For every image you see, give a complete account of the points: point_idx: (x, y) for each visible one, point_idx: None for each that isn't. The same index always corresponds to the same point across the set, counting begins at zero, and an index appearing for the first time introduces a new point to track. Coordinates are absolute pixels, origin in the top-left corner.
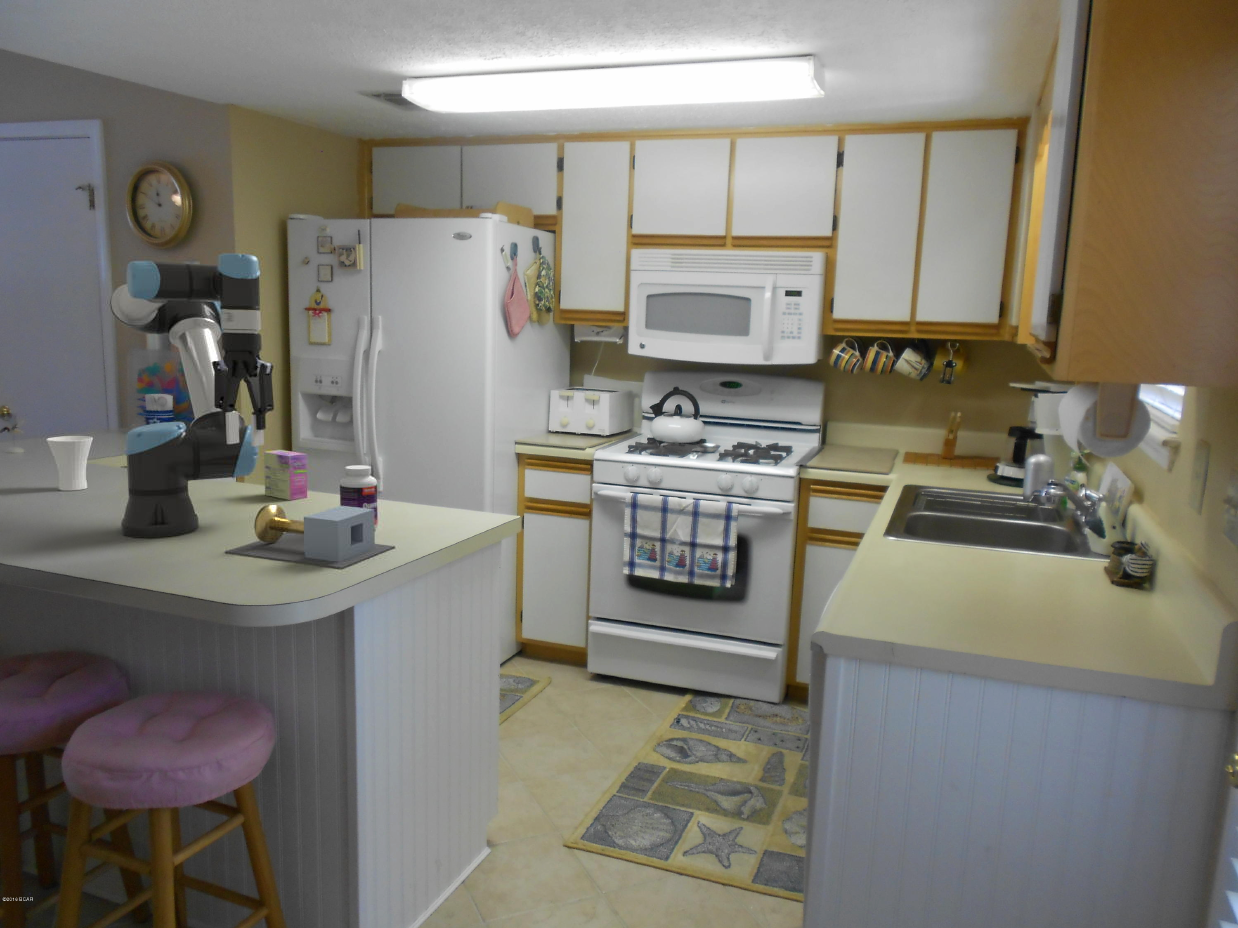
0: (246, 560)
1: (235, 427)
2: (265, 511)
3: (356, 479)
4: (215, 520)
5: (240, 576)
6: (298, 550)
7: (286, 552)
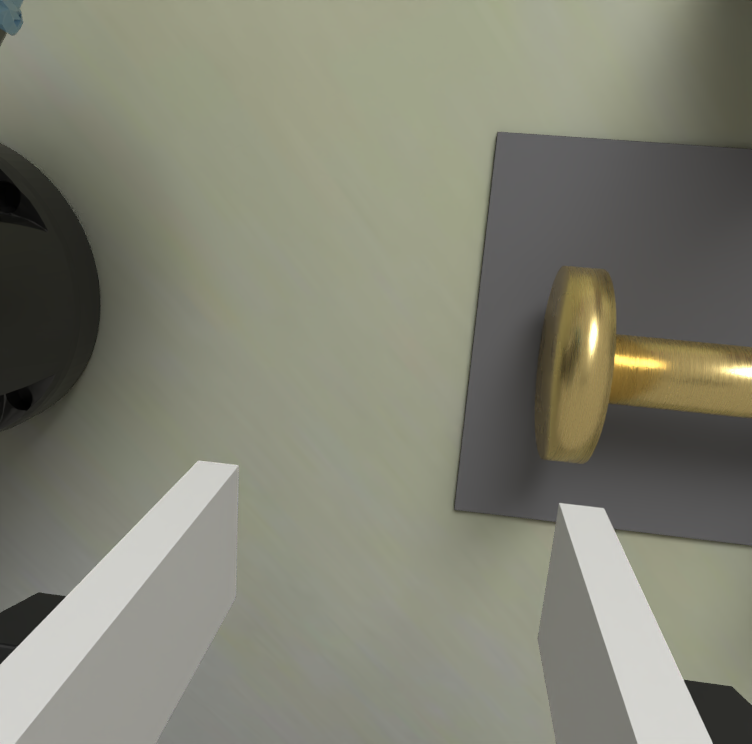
0: None
1: (162, 621)
2: (595, 446)
3: None
4: None
5: None
6: None
7: (707, 454)
